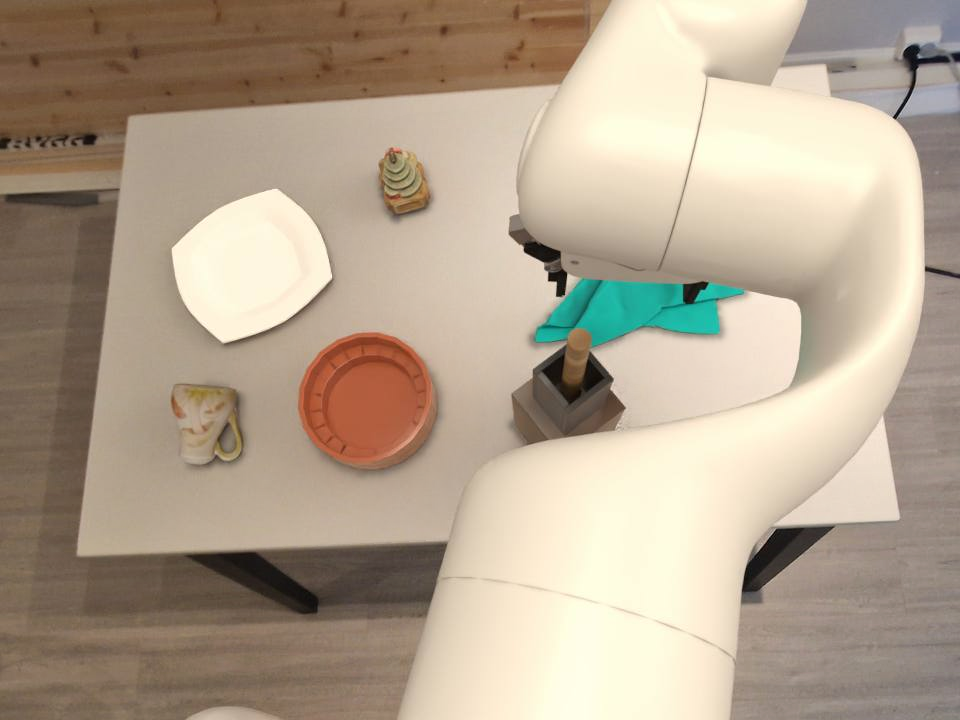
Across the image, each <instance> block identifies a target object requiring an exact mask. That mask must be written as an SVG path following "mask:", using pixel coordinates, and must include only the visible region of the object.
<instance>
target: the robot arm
mask: <svg viewBox="0 0 960 720" xmlns="http://www.w3.org/2000/svg"><path fill="white" fill-rule="evenodd" d="M807 5H808V0H610V3H609V5H608V7H607V8H606V10H605V12H604V13H603V15H602V17H601V18H600V20H599V22H598V23H597V25H596V27H595V28H594V31H593V32H592V34H591V35H590V37H589V38H588V41H587V42H586V43H585V46H583V48H582V50H581V52H580V53H579V55H578V57H577V58H576V59H575V62H574V63H573V64H572V66H571V67H570V68H569V71H568V72H567V73H566V75H565V77H564V78H563V80H562V81H561V83H560V84H559V86H558V87H557V90H556V92H555V93H554V95H553V96H552V98H548V99H546V101H545V102H544V103H542V105H541V106H540V107H539V109H538V111H537V112H536V113H535V115H534V117H533V119H532V121H531V123H530V125H529V127H528V129H527V132H526V134H525V137H524V140H523V144H522V147H521V150H520V154H519V158H518V163H517V170H516V181H515V182H516V185H515V187H516V188H515V189H516V194H517V198H518V199H517V201H518V202H517V203H518V205H517V206H518V213H517V214H513V215H511V216H510V217H509V225H508V236H509V237H510V238H511V239H512V240H513V241H515V242H516V243H517V245H518V246H522V248H523V251H522V252H523V253H524V254H526V255H528V256H530V257H532V258H534V259H535V260H538V261H539V262H542V263H543V270H544V271H545V272H547V282H548V283H556V287H555V297H556V298H563V297H564V296H566V293H567V292H566V291H567V284H568V283H567V282H568V275H570V276H572V277H576V278H579V279H582V278H585V279H595V280H610V281H627V282H646V283H668V284H683V302H685V304H693V303H694V302H695V300H696V298H697V296H698V294H699V292H700V291H701V290H706V288H707V286H708V284H709V283H714V284H719V285H724V286H729V287H734V288H738V289H742V290H744V291H746V292H747V291H748V292H752V293H756V294H761V295H765V296H770V297H774V298H779V299H787V300H790V301H792V302H794V303H795V304H796V305H797V307H798V309H799V313H800V325H801V326H800V338H799V339H800V341H799V350H798V358H797V364H796V367H795V371H794V375H793V377H792V380H791V382H790V384H789V385H788V387H786V388H785V389H783V390H782V391H779V392H776V393H774V394H772V395H770V396H767V397H764V398H762V399H759V400H755V401H752V402H749V403H746V404H743V405H740V406H736V407H732V408H728V409H723V410H719V411H715V412H710V413H705V414H702V415H695V416H691V417H686V418H681V419H676V420H672V421H665V422H660V423H653V424H649V425H642V426H636V427H629V428H622V429H615V430H614V431H606V432H599V433H592V434H586V435H580V436H573V437H566V438H560V439H553V440H547V441H543V442H539V443H534V444H531V445H530V444H528V445H523V446H521V447H520V446H519V447H517V448H514V449H510V450H508V451H505V452H502V453H500V454H499V455H496V456H494V457H493V458H491V459H489V460H488V461H486V462H485V463H483V464H482V465H481V466H479V467H478V468H477V469H476V470H475V472H473V474H472V475H471V476H470V478H468V480H467V482H466V484H465V485H464V487H463V490H462V492H461V495H460V497H459V500H458V503H457V507H456V509H455V514H454V518H453V521H452V525H451V529H450V532H449V536H448V540H447V544H446V547H445V550H444V555H443V558H442V562H441V565H440V568H439V572H438V575H437V578H436V582H435V587H434V591H433V594H432V597H431V601H430V605H429V607H428V611H427V614H426V618H425V621H424V625H423V628H422V630H421V631H422V632H421V635H420V638H419V641H418V645H417V648H416V651H415V654H414V659H413V662H412V665H411V669H410V671H409V676H408V679H407V682H406V685H405V689H404V692H403V694H402V699H401V702H400V705H399V709H398V712H397V716H396V718H395V720H731V714H732V713H731V712H732V702H733V693H734V692H733V691H734V683H735V674H736V673H735V671H736V665H737V654H738V653H737V652H738V643H739V629H740V615H741V607H742V606H741V605H742V591H743V585H744V579H745V578H744V577H745V574H746V573H745V572H746V568H747V565H748V561H749V557H750V556H751V553H752V551H753V549H754V547H755V546H756V544H757V543H758V541H759V540H760V539H761V537H762V536H763V535H765V534H766V533H767V532H768V531H769V530H770V529H771V528H772V527H773V526H774V525H775V524H777V523H778V522H780V521H781V520H783V518H785V517H786V516H787V515H789V514H790V513H792V512H793V511H794V510H797V508H798V507H800V506H801V505H802V504H804V503H805V502H807V500H809V499H810V498H811V497H813V496H814V495H815V494H816V493H818V492H819V491H820V490H821V489H822V488H824V487H825V486H826V485H827V484H828V483H829V482H830V481H831V480H833V479H834V478H835V477H836V476H837V475H838V474H839V473H840V472H841V470H842V469H843V468H845V466H846V465H847V464H848V463H849V462H850V461H851V460H852V459H853V458H854V457H855V456H856V455H857V453H858V452H859V451H860V450H861V448H863V445H864V444H865V443H866V441H868V439H869V437H870V436H871V434H873V432H874V431H875V429H876V428H877V426H878V424H879V422H880V420H881V419H882V417H883V415H884V414H885V412H886V410H887V408H888V407H889V405H890V403H891V402H892V400H893V398H894V396H895V394H896V391H897V388H898V386H899V384H900V381H901V379H902V377H903V374H904V372H905V371H906V367H907V365H908V362H909V360H910V358H911V357H910V356H911V353H912V350H913V347H914V343H915V341H916V339H917V335H918V331H919V327H920V323H921V317H922V316H921V315H922V312H923V311H922V309H923V305H924V297H925V286H926V264H925V263H926V262H925V257H926V255H925V254H926V253H925V205H924V204H925V203H924V191H923V180H922V172H921V167H920V161H919V157H918V154H917V149H916V147H915V145H914V143H913V140H912V138H911V137H910V135H909V134H908V132H907V131H906V130H905V128H904V127H903V126H902V125H901V123H900V122H898V120H896V119H895V118H893V117H892V115H890V114H887V113H886V112H885V111H882V110H880V109H879V108H876V107H874V106H871V105H869V104H866V103H862V102H857V101H853V100H848V99H844V98H838V97H833V96H827V95H823V94H819V93H813V92H808V91H802V90H797V89H790V88H784V87H778V86H772V83H773V82H774V80H775V78H776V76H777V73H778V71H779V69H780V67H781V65H782V62H783V61H784V59H785V56H786V54H787V52H788V50H789V48H790V46H791V43H792V42H793V40H794V37H795V35H796V33H797V32H798V29H799V26H800V24H801V21H802V20H803V19H802V18H803V16H804V14H805V11H806V9H807ZM184 720H287V719H286V718H283V717H280V716H277V715H274V714H270V713H268V712H264V711H261V710H258V709H254V708H251V707H245V706H240V705H239V706H237V705H236V706H234V705H233V706H228V705H226V706H213V707H210V708H207V709H204V710H201V711H198V712H197V713H194V714H192V715H190V716H188V717H187V718H185V719H184Z"/></svg>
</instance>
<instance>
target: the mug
mask: <svg viewBox="0 0 960 720" xmlns="http://www.w3.org/2000/svg"><path fill="white" fill-rule="evenodd" d="M170 404H171V410H172V413H173V417H174V419H175V423H176V427H177V430H178V433H179V447H178V448H179V449H178V456H179V458H180V459H181V461H183V462H184V463H187V464H190V465H200V466H202V465H207V464H208V463H210V462H211V461H213V459H215V457H216V456H217V457H219V459H221V460H222V461H225V462H231V461H234V460H236V459H237V458H238V457H239V456H240V455H241V452H242V450H243V438H242V434H241V432H240V430H239V426H238V421H237V411H236V409H235V407H236V404H237V389H236V388H232V387H226V386H218V385H217V386H216V385H209V384H199V383H198V384H197V383H196V384H194V383H175V384H173V386H172V389H171V395H170ZM228 423H229V425H230V427H231V429H232V431H233V435H234V437H235V442H236V447H235V449H234V450H233V451H232V452H230V453H228V452H224V451H223V449H222V445H221V443H220V442H219V438H220V435H221V433H222V432H223V430H224V429H225V427H226V425H227V424H228Z"/></svg>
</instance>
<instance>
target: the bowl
mask: <svg viewBox="0 0 960 720" xmlns="http://www.w3.org/2000/svg"><path fill="white" fill-rule="evenodd" d="M298 388H299V390H298V401H297V402H298V404H297V409H298V413H299V418H300V421H301V425H302V428H303V430H304V432H305V433H306V434H307V435H308V437H309V438H310V440H311V442H312V443H313V444H314V445H315V446H316V447H317V448H319V449H320V450H321V451H323V452H324V453H325V454H327V455H328V456H329V457H331V458H333V459H334V460H336V461H337V462H338V463H340V464H342V465H344V466H348V467H351V468H354V469H357V470H361V471H363V470H365V471H368V470H384V469H387V468H390V467H392V466H395V465H399V464H400V463H402V462H404V461H405V460H407V459H408V458H409V457H411V456H412V455H413V454H414V453H416V452H417V451H419V450H420V448H421V447H422V445H423V444H424V443H425V441H426V440H427V439H428V437H429V436H430V434H431V432H432V429H433V426H434V423H435V420H436V417H437V413H438V411H437V409H438V405H437V403H438V398H437V397H438V395H437V391H436V388H435V385H434V381H433V379H432V376H431V374H430V372H429V370H428V368H427V366H426V363H425V362H424V361H423V359H422V358H421V357H420V356H419V354H418V353H417V352H416V350H415V349H414V348H413V347H411V346H410V345H409V344H407V343H405V342H404V341H402V340H401V339H400V338H398V337H396V336H393V335H390V334H389V335H388V334H385V333H381V332H374V331H373V332H356V333H353V334H350V335H347V336H344V337H341V338H338V339H336V340H335V341H333V342H332V343H330V344H329V345H328V346H326V347H325V348H323V349H322V350H321V351H319V352H318V354H317V355H316V356H315V358H314V359H313V360H312V361H311V363H310V364H309V365H308V366H307V368H306V370H305V372H304V375H303V378H302V380H301V382H300V385H299V387H298Z"/></svg>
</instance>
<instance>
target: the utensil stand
mask: <svg viewBox="0 0 960 720" xmlns="http://www.w3.org/2000/svg"><path fill="white" fill-rule="evenodd" d="M566 345H567V343H566V344H564V345H563V346H562V347H561V348H559V349H558V350H556V351H555V352H554V353H553V354H551V355H550V356H549V357H547V358H546V359H545V360H543V361H542V362H540V363H539V364H538V365H536V366H534V368H532V378H530V379H529V380H528V381H526V382H524V384H522V385H520V386H519V387H518V388H517V389H515V390H514V391H513V392H512V393H511V395H510V396H511V404H512V412H513V422H514V426H515V428H517V430H518V432H519V433H520V434H521V435H522V436H523V437H524V439H525V440H526V442H527V443H528V445H531V444H534V443H539V442H543V441H547V440H553V439H560V438H566V437H573V436H580V435H586V434H592V433H599V432H606V431H614V430H616V428H617V426H618V424H619V422H620V420H621V418H622V416H623V414H624V412H625V411H626V409H627V407H626V406H625V404H624V403H623V402H622V400H620V398H618V397H617V395H616V394H615V392H613V391H612V390H611V388H612V385H613V384H614V380H615V378H614V377H613V376H612V374H611V373H609V371H608V370H607V369H606V367H604V365H603V364H602V363H601V362H600V360H599V359H598V358H597V357H596V356H595V355H594V354H593V353H592V352H591V350H590V351H589V355H588V360H587V364H586V368H585V372H584V376H583V380H582V385H581V388H582V389H583V390H582V394H581V396H580V397H579V398H578V399H576V400H575V401H574V402H572V403H571V404H569V403H568V402H567V400H566V399H565V398H564V397H563V396H562V394H561V393H560V389H561V381H562V374H563V367H564V360H565V352H566Z"/></svg>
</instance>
